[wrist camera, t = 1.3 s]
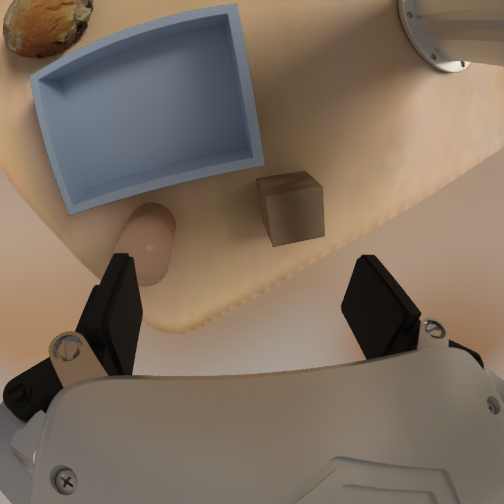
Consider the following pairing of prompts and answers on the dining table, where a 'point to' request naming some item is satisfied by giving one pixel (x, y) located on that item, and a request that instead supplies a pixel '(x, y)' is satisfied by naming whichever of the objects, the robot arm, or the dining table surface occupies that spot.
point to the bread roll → (44, 25)
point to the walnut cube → (292, 207)
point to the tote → (149, 108)
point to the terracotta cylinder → (148, 242)
